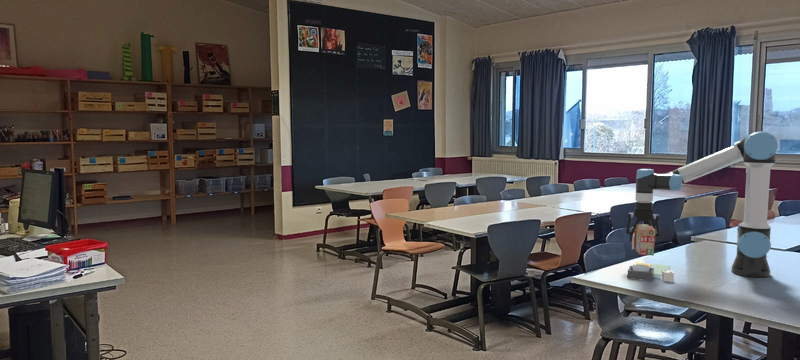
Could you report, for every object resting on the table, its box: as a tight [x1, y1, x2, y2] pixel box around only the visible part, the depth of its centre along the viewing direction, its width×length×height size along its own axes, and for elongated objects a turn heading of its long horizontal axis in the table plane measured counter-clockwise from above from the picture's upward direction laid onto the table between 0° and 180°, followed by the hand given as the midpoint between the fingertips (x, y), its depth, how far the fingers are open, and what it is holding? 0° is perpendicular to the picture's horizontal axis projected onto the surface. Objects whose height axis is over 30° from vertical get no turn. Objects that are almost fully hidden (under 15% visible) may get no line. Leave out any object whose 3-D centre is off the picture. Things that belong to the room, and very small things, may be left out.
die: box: [661, 270, 675, 283], centre depth 247 cm, size 4×4×4 cm
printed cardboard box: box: [630, 223, 656, 256], centre depth 268 cm, size 21×6×12 cm, turn 168°
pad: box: [635, 262, 652, 268], centre depth 269 cm, size 7×22×1 cm, turn 152°
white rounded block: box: [632, 263, 651, 272], centre depth 253 cm, size 7×7×4 cm
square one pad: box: [652, 264, 670, 277], centre depth 266 cm, size 7×22×1 cm, turn 152°
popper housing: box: [627, 265, 655, 282], centre depth 253 cm, size 10×10×4 cm
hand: (642, 249), depth 269 cm, fingers closed on printed cardboard box, 7 cm apart
